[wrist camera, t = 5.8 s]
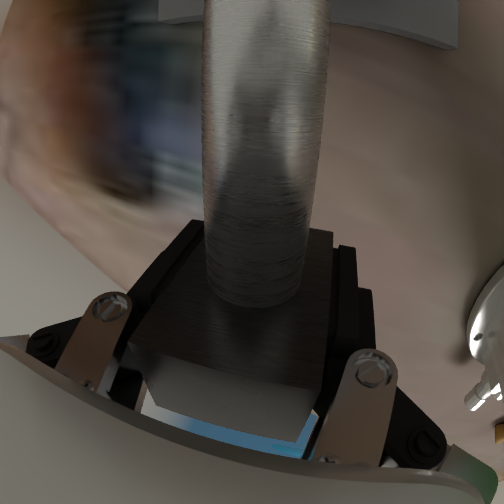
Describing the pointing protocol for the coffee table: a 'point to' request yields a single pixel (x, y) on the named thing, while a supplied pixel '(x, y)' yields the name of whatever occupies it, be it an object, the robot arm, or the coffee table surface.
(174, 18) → the base board
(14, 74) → the coffee table surface
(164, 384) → the shaft
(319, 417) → the robot arm
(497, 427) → the kendama
